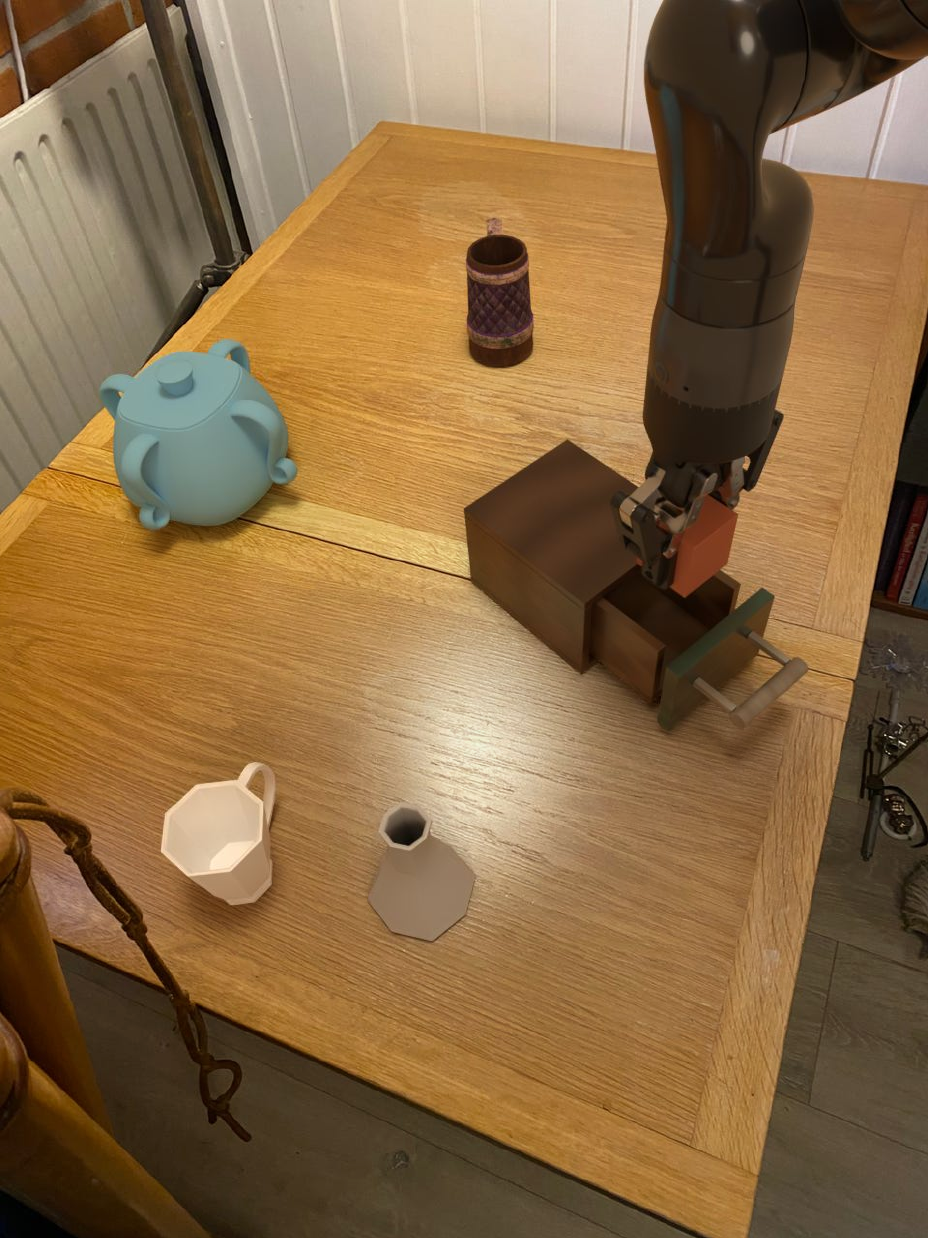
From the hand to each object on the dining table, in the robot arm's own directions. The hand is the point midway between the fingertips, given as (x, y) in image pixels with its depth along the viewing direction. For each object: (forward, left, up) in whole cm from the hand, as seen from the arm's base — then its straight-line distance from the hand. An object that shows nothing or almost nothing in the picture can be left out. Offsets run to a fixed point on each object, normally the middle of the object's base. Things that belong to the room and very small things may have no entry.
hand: (682, 560), depth 67 cm
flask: (+7, +26, -13) cm, 29 cm away
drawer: (-1, 0, -11) cm, 11 cm away
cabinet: (+10, -3, -12) cm, 16 cm away
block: (0, 0, 0) cm, 0 cm away
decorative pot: (+47, +1, -13) cm, 49 cm away
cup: (+19, +30, -13) cm, 37 cm away
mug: (+33, -31, -13) cm, 47 cm away
